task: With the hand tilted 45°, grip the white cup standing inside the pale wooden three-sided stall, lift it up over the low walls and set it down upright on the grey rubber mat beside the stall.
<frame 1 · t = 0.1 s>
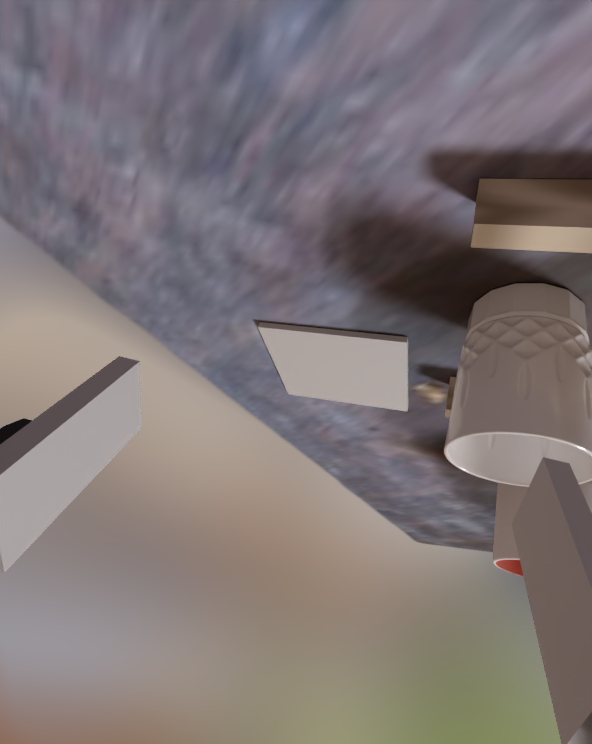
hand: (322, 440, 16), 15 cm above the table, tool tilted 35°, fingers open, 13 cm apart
stall: (525, 315, 31), on the table
cup: (548, 475, 53), on the table
mat: (339, 367, 43), on the table
white cup: (525, 312, 31), on the table
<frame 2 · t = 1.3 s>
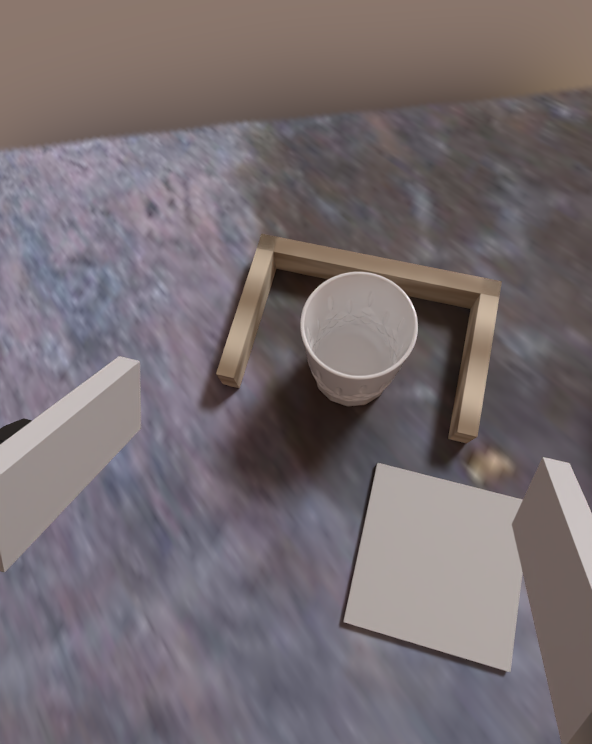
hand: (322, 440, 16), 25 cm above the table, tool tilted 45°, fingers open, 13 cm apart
stall: (351, 369, 42), on the table
mat: (438, 560, 37), on the table
white cup: (351, 369, 43), on the table
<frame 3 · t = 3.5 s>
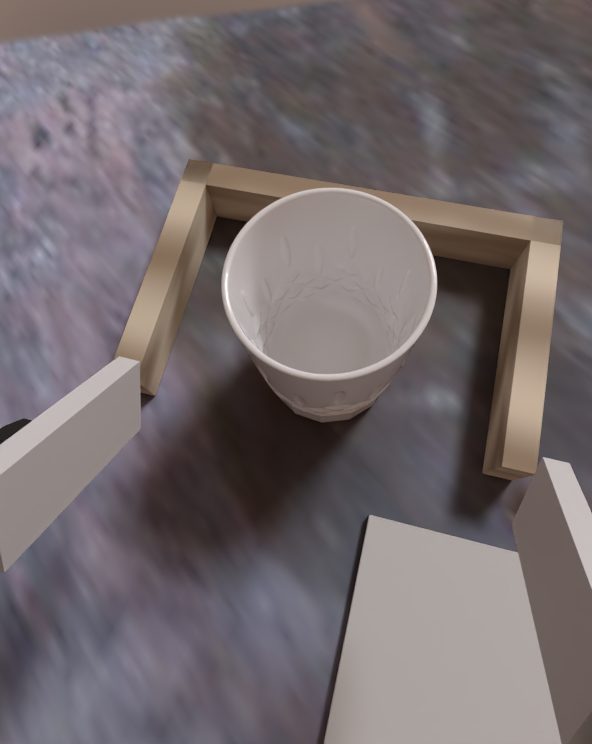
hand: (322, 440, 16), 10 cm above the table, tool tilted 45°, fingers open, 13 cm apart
stall: (328, 363, 27), on the table
mat: (472, 681, 22), on the table
white cup: (328, 365, 28), on the table
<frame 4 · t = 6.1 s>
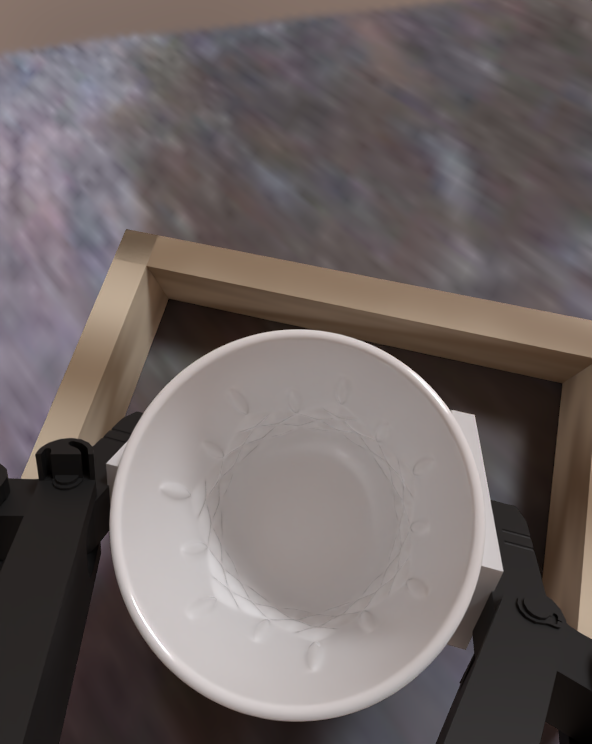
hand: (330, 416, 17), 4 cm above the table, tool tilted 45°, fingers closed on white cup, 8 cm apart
stall: (310, 517, 20), on the table
white cup: (311, 517, 20), on the table, touching gripper
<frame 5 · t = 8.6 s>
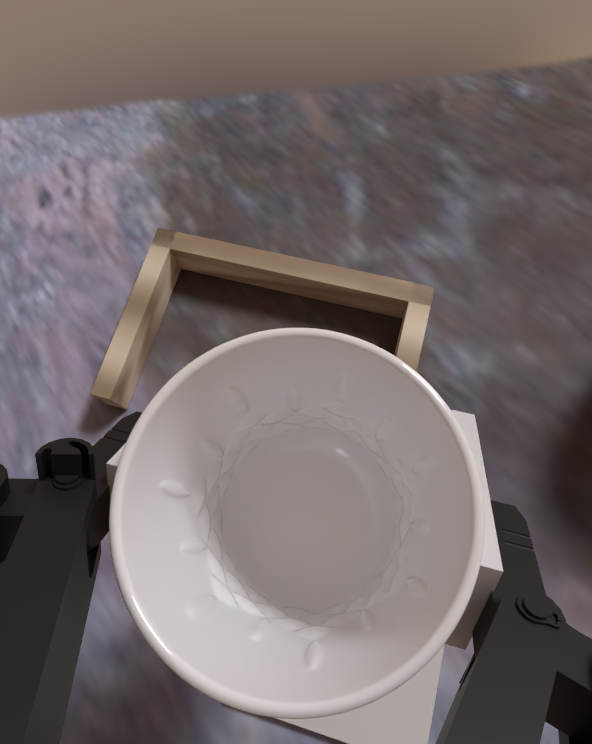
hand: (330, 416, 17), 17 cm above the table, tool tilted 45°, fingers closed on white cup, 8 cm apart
stall: (258, 388, 36), on the table
mat: (345, 623, 31), on the table
white cup: (311, 516, 20), point 14 cm above the table, touching gripper
when the fingers open (6 cm above the table, at t = 11.5 s): white cup drops 1 cm, resting on mat.
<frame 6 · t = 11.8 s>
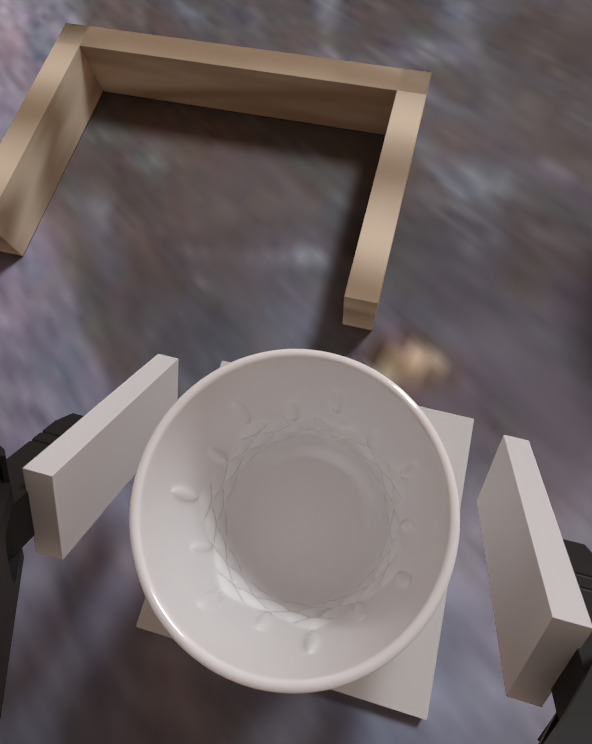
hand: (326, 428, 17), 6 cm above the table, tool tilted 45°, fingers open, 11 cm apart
stall: (198, 224, 27), on the table
mat: (312, 518, 22), on the table
white cup: (309, 518, 21), resting on mat
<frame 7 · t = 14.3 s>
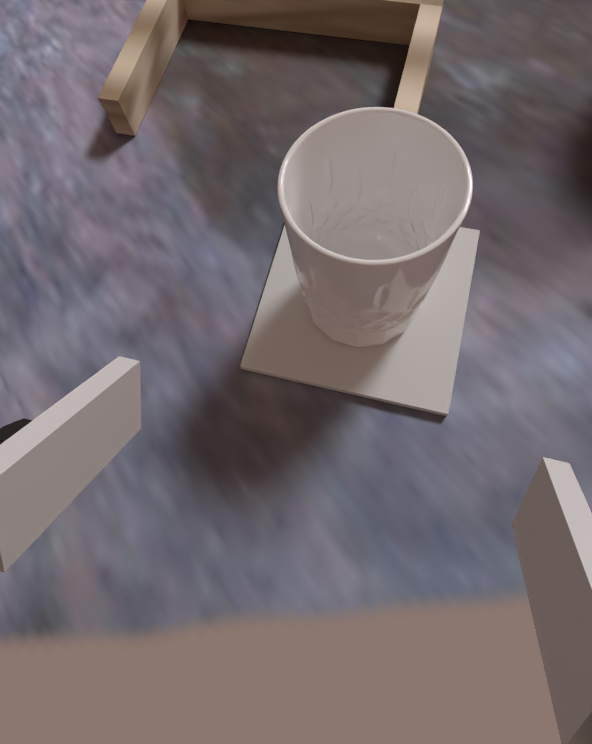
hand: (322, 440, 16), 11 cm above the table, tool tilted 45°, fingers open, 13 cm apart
stall: (268, 111, 35), on the table
mat: (363, 300, 30), on the table
white cup: (361, 298, 29), resting on mat
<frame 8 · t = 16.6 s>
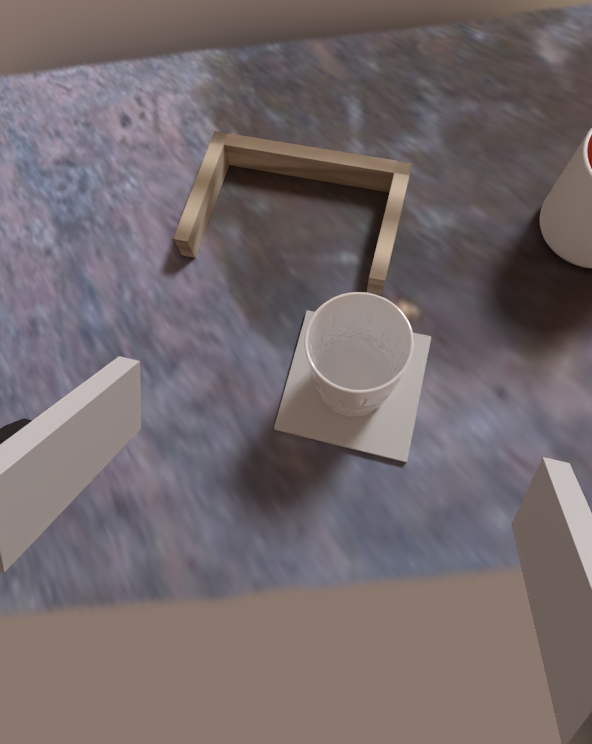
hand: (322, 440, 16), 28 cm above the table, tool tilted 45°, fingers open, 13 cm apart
stall: (289, 241, 50), on the table
cup: (585, 231, 49), on the table
mat: (353, 383, 45), on the table
white cup: (352, 382, 45), resting on mat
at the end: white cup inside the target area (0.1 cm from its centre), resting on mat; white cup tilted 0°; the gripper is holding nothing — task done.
